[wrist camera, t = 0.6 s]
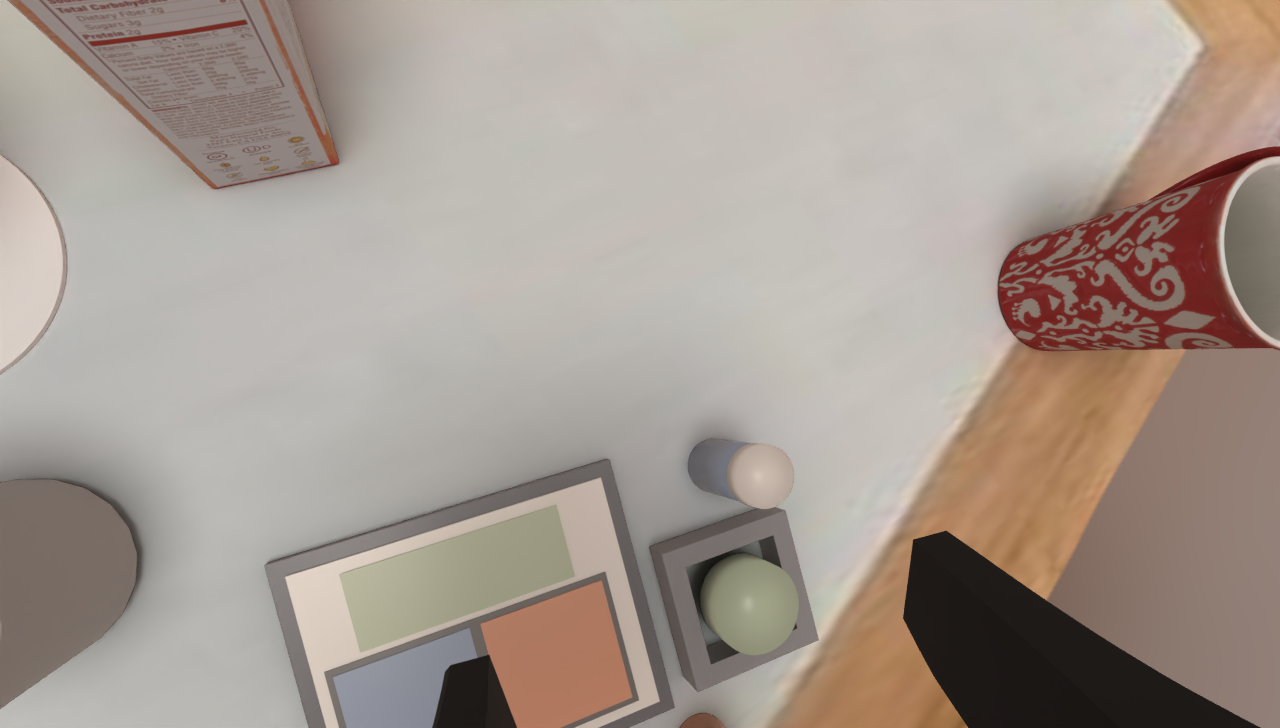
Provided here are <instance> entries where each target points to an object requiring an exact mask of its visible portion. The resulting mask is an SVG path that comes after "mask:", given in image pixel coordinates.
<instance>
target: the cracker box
mask: <svg viewBox="0 0 1280 728" xmlns="http://www.w3.org/2000/svg"><path fill="white" fill-rule="evenodd" d="M8 1H9V2H10V3H11V4H12V5H13V6H14V7H15V8H16V9H18V10H19V11H20V12H21V13H22V14H23V15H24V16H25V17H26V18H27V19H28V20H29V21H31V22H32V23H33V24H34V25H35V26H36V27H37V28H38V29H39V30H40V31H41V32H42V33H44V34H45V35H46V36H47V37H48V38H49V39H50V40H51V41H52V42H53V43H55V44H56V45H57V46H58V47H59V48H60V49H61V50H62V51H63V52H64V53H66V54H67V55H68V56H69V57H70V58H71V59H72V60H73V61H74V62H75V63H76V64H78V65H79V66H80V67H81V68H82V69H83V70H84V71H85V72H86V73H87V74H88V75H89V76H91V77H92V78H93V79H94V80H95V81H96V82H97V83H98V84H99V85H100V86H101V87H103V88H104V89H105V90H106V91H107V92H108V93H109V94H110V95H111V96H112V97H113V98H114V99H116V100H117V101H118V102H119V103H120V104H121V105H122V106H123V107H124V108H125V109H126V110H128V111H129V112H130V113H131V114H132V115H133V116H134V117H135V118H136V119H137V120H138V121H140V122H141V123H142V124H143V125H144V126H145V127H146V128H147V129H148V130H149V131H150V132H151V133H152V134H154V135H155V136H156V137H157V138H158V139H159V140H160V141H161V142H162V143H163V144H164V145H166V146H167V147H168V148H169V149H170V150H171V151H172V152H173V153H174V154H175V155H177V156H178V157H179V158H180V159H181V160H182V161H183V162H184V163H185V164H186V165H187V166H189V167H190V168H191V169H192V170H193V171H194V172H195V173H196V174H197V175H198V176H199V177H200V178H201V179H202V180H203V181H204V182H206V183H207V184H208V185H209V186H210V187H212V188H215V189H216V188H220V187H225V186H230V185H235V184H241V183H246V182H251V181H256V180H260V179H266V178H271V177H275V176H280V175H285V174H290V173H295V172H299V171H304V170H309V169H315V168H319V167H323V166H329V165H335V164H338V163H339V159H338V156H337V153H336V150H335V147H334V143H333V140H332V137H331V134H330V131H329V128H328V124H327V121H326V118H325V115H324V111H323V108H322V105H321V102H320V98H319V95H318V92H317V89H316V86H315V82H314V79H313V76H312V73H311V70H310V67H309V63H308V60H307V57H306V54H305V51H304V48H303V45H302V42H301V39H300V36H299V32H298V29H297V26H296V23H295V20H294V17H293V14H292V11H291V8H290V5H289V1H288V0H8Z"/></svg>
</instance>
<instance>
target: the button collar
mask: <svg viewBox="0 0 1280 728" xmlns="http://www.w3.org/2000/svg"><path fill="white" fill-rule="evenodd" d="M756 541H759V542H760V546H761V550H762V554H763V558H764V560H766V561H768V562H770V563H772V564H774V565H776V566H778V567H780V568H781V569H783V570H784V571H785V572H786V573H787V574H788V575H789V576H790V578H791V579H792V581H793V583H794V585H795V587H796V590H797V594H798V600H799V611H798V617H797V620H796V623H795V626H794V628H793V630H792V632H791V634H790V635H789V637H788V638H787V639H786V640H785V641H784V642H783V643H782V644H781V645H780V646H779V647H777V648H776V649H775V650H773V651H771V652H768V653H765V654H761V655H747V654H743V653H741V652H738V651H736V650H735V649H733V648H732V647H731V646H729V645H728V644H727V643H726V642H724V641H723V640H722V641H719V642H717V643H714V644H712V645H710V646H707V647H706V644H705V640H704V637H703V633H702V629H701V625H700V621H699V617H698V614H697V610H696V606H695V602H694V598H693V594H692V591H691V587H690V583H689V579H688V575H687V571H686V567H688V566H691V565H694V564H697V563H699V562H702V561H705V560H707V559H710V558H713V557H715V556H718V555H721V554H724V553H726V552H729V551H732V550H734V549H737V548H740V547H743V546H745V545H748V544H751V543H753V542H756ZM650 551H651V555H652V558H653V562H654V566H655V570H656V574H657V577H658V581H659V585H660V589H661V593H662V596H663V600H664V604H665V608H666V612H667V616H668V619H669V623H670V627H671V631H672V635H673V638H674V642H675V646H676V650H677V654H678V657H679V661H680V665H681V669H682V673H683V677H684V678H685V679H686V680H687V681H688V682H689V683H690V684H691V685H692V686H693V687H694V688H695V690H696V691H697V692H699V691H701V690H704V689H706V688H708V687H711V686H713V685H715V684H718V683H720V682H722V681H725V680H727V679H729V678H732V677H734V676H736V675H739V674H741V673H743V672H746V671H748V670H750V669H753V668H755V667H757V666H759V665H762V664H764V663H766V662H769V661H771V660H773V659H776V658H778V657H780V656H783V655H785V654H787V653H790V652H792V651H794V650H797V649H799V648H801V647H804V646H806V645H808V644H811V643H813V642H815V641H818V640H819V639H818V635H817V631H816V627H815V624H814V620H813V616H812V612H811V608H810V604H809V600H808V596H807V592H806V589H805V585H804V581H803V577H802V573H801V569H800V565H799V561H798V558H797V554H796V550H795V546H794V542H793V538H792V534H791V530H790V527H789V523H788V519H787V515H786V511H785V510H782V509H779V508H776V507H774V508H770V509H759V508H757V509H755V510H752V511H749V512H746V513H743V514H740V515H738V516H735V517H732V518H729V519H726V520H723V521H721V522H718V523H715V524H712V525H709V526H707V527H704V528H701V529H698V530H695V531H692V532H690V533H687V534H684V535H681V536H678V537H675V538H673V539H670V540H667V541H664V542H661V543H658V544H656V545H653V546H650Z"/></svg>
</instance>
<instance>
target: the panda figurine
mask: <svg viewBox="0 0 1280 728" xmlns="http://www.w3.org/2000/svg"><path fill="white" fill-rule="evenodd" d="M66 274H67V256H66V248H65V242H64V238H63V234H62V230H61V228H60V225H59V222H58V220H57V217H56V215H55V214H54V212H53V210H52V208H51V206H50V204H49V203H48V201H47V200H46V198H45V197H44V195H43V194H42V192H41V191H40V190H39V189H38V187H37V186H36V185H35V184H34V183H33V181H32V180H30V179H29V178H28V177H27V176H26V175H25V174H24V173H23V172H22V171H21V170H20V169H19V168H18V167H16V166H15V165H14V164H13V163H11V162H10V161H9V160H7V159H6V158H4V157H3V156H1V155H0V374H1V373H3V372H4V371H6V370H7V369H9V368H10V367H11V366H13V365H14V364H15V363H17V362H18V361H19V360H20V359H21V358H22V357H23V356H25V355H26V354H27V353H28V352H29V351H30V350H31V349H32V348H33V346H34V345H35V344H36V343H37V342H38V341H39V340H40V338H41V337H42V336H43V334H44V333H45V332H46V330H47V329H48V327H49V325H50V323H51V322H52V320H53V318H54V316H55V314H56V312H57V310H58V308H59V305H60V302H61V299H62V296H63V292H64V288H65V283H66Z"/></svg>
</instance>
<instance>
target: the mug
mask: <svg viewBox="0 0 1280 728" xmlns="http://www.w3.org/2000/svg"><path fill="white" fill-rule="evenodd" d="M999 301H1000V306H1001V310H1002V313H1003V316H1004V318H1005V320H1006V322H1007V324H1008V326H1009V327H1010V329H1011V330H1012V332H1013V333H1014V335H1015V336H1016V337H1017V338H1018V339H1020V340H1021V341H1022V342H1023V343H1025V344H1026V345H1028V346H1030V347H1032V348H1034V349H1038V350H1043V351H1077V350H1149V349H1226V348H1274V349H1277V350H1280V146H1279V147H1268V148H1263V149H1258V150H1254V151H1250V152H1247V153H1244V154H1240V155H1237V156H1235V157H1232V158H1229V159H1227V160H1224V161H1222V162H1219V163H1217V164H1215V165H1213V166H1210V167H1208V168H1206V169H1204V170H1202V171H1200V172H1198V173H1196V174H1194V175H1192V176H1190V177H1188V178H1186V179H1184V180H1182V181H1181V182H1179V183H1177V184H1175V185H1173V186H1172V187H1170V188H1168V189H1166V190H1165V191H1163V192H1161V193H1160V194H1158V195H1156V196H1155V197H1153V198H1151V199H1150V200H1148V201H1146V202H1142V203H1139V204H1136V205H1133V206H1130V207H1127V208H1124V209H1121V210H1118V211H1115V212H1112V213H1109V214H1106V215H1103V216H1100V217H1097V218H1093V219H1090V220H1087V221H1084V222H1081V223H1078V224H1075V225H1072V226H1069V227H1066V228H1063V229H1060V230H1057V231H1054V232H1051V233H1047V234H1044V235H1041V236H1038V237H1035V238H1032V239H1030V240H1028V241H1026V242H1024V243H1022V244H1020V245H1019V246H1018V247H1016V248H1015V249H1014V250H1013V251H1012V252H1011V253H1010V255H1009V256H1008V258H1007V259H1006V261H1005V263H1004V265H1003V268H1002V271H1001V275H1000V280H999Z"/></svg>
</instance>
